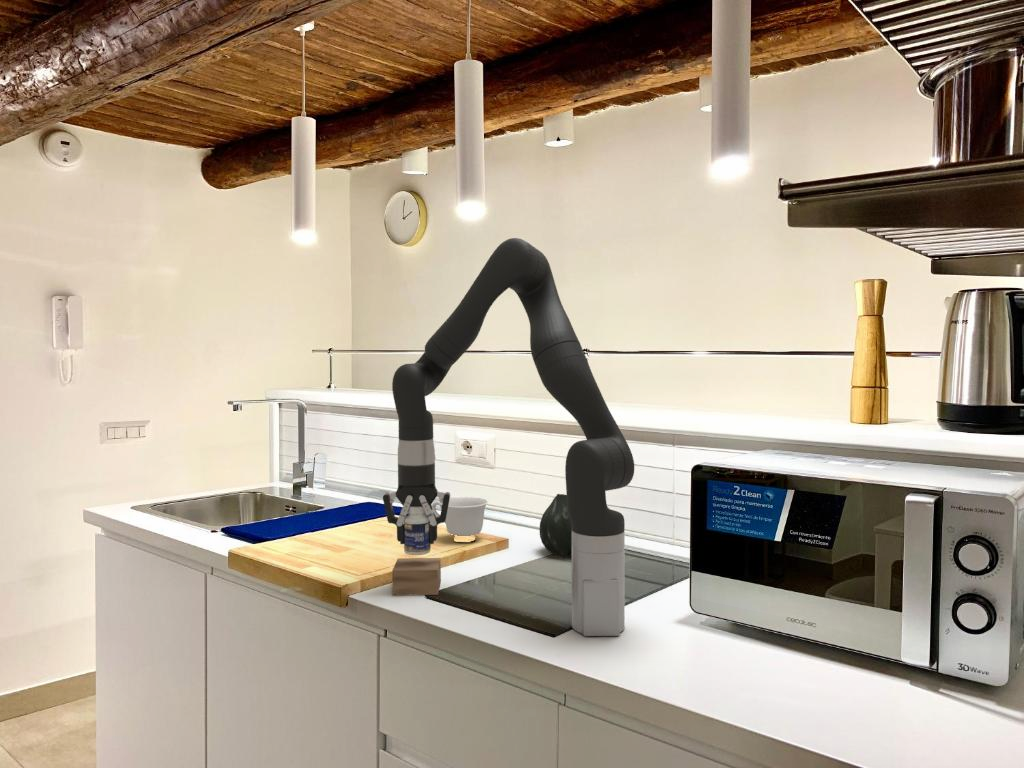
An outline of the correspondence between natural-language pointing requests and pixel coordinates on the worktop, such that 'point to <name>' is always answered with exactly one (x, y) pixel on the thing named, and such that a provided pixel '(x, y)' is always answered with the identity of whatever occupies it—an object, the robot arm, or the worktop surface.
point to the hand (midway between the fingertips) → (417, 542)
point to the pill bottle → (416, 532)
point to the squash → (557, 527)
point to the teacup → (464, 515)
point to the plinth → (416, 576)
